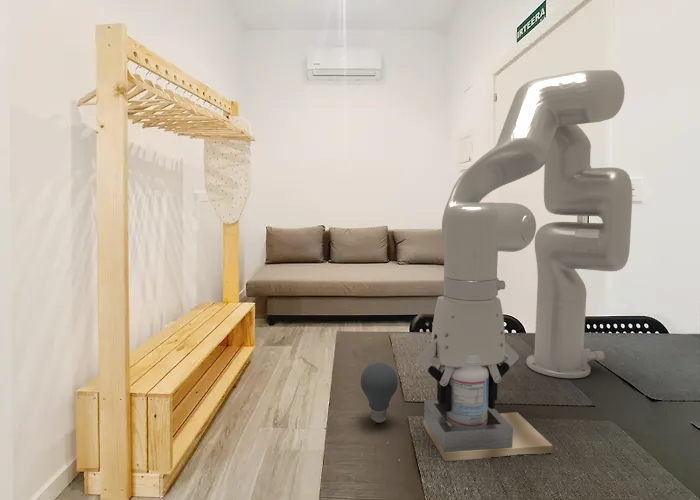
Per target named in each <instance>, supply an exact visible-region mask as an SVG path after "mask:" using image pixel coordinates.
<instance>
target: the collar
mask: <svg viewBox="0 0 700 500" xmlns="http://www.w3.org/2000/svg"><path fill="white" fill-rule="evenodd" d="M423 403H424V404H423V408H424V409H423V421H424V420H425V421H426V423H427V424H428V426H429V428H430V429H431V431H432V433H433V434H434V436H435V438H436V439H437V441H438V443H439V444H440V446H441V448H442V449H443V451H444V453H445V452H459V451H472V450H486V449H500V448H512V442H513V427H512V426H511V425H510V424H509V423H508V422H507V421H506V420H505V419H504V418H503V417H502V416H501V415H500V414H499V411H498V410H497V409H490V408H489V407H488V421H487V424H486V425H478V426H463V427H450V426H449V425H448V423H447V422H446V421H448V420H447V418H446V411H445V410H444V408H443V407H442V406H441V404H439V403H438V401H437V399H433V400H424V401H423Z"/></svg>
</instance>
